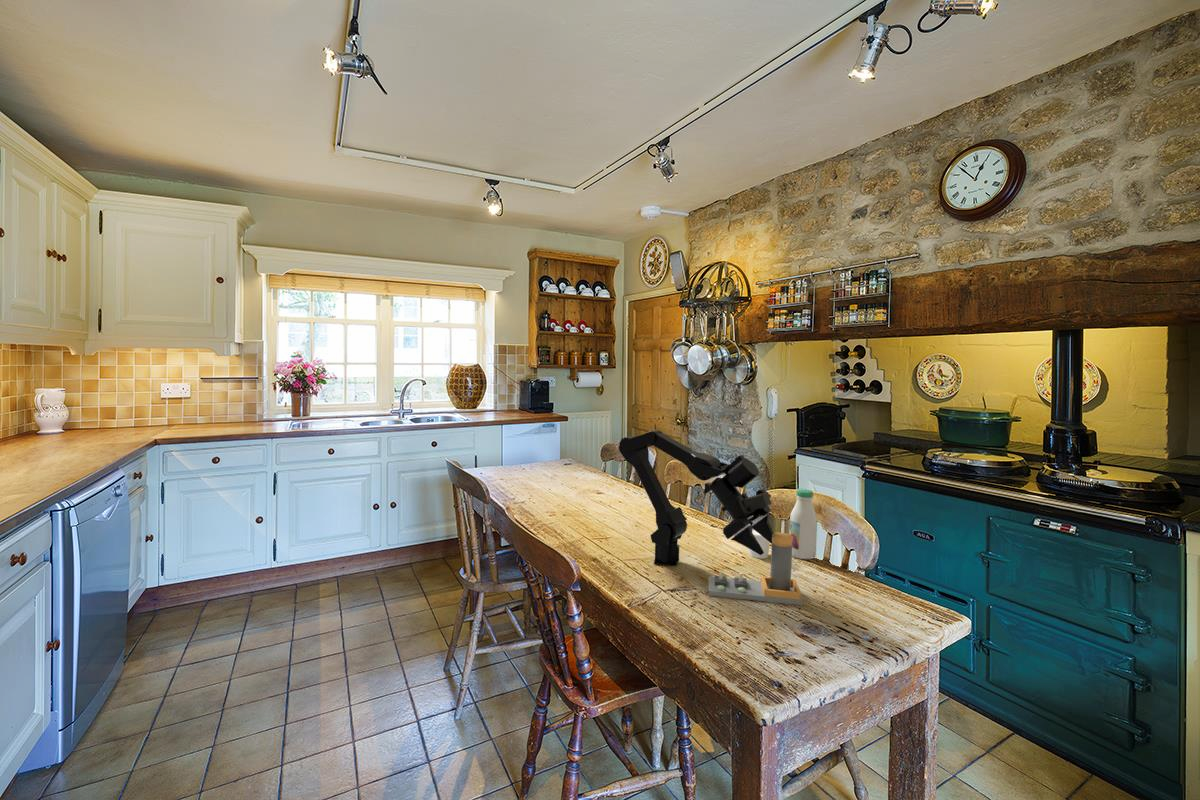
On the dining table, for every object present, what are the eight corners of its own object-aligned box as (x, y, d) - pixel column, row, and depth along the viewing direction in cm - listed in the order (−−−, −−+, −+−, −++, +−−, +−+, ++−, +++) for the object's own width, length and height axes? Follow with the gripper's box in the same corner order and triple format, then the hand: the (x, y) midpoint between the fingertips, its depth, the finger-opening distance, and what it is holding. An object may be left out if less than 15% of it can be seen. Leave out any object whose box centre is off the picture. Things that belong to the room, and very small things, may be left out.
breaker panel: (708, 595, 127) (709, 579, 127) (708, 580, 136) (708, 565, 136) (802, 605, 123) (803, 588, 123) (795, 589, 132) (796, 573, 131)
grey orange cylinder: (768, 591, 127) (770, 536, 126) (771, 584, 131) (774, 531, 130) (788, 596, 125) (790, 540, 124) (791, 588, 129) (794, 534, 128)
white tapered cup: (771, 560, 151) (772, 537, 150) (747, 558, 152) (748, 535, 152) (768, 552, 158) (769, 529, 157) (745, 550, 159) (746, 528, 159)
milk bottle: (814, 552, 158) (817, 488, 156) (816, 561, 150) (819, 494, 149) (788, 549, 160) (790, 486, 159) (788, 558, 153) (791, 492, 152)
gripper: (737, 486, 124) (780, 542, 118) (765, 474, 139) (805, 523, 133) (706, 511, 129) (745, 566, 123) (736, 497, 144) (773, 545, 138)
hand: (769, 548), depth 129 cm, fingers open, 9 cm apart
